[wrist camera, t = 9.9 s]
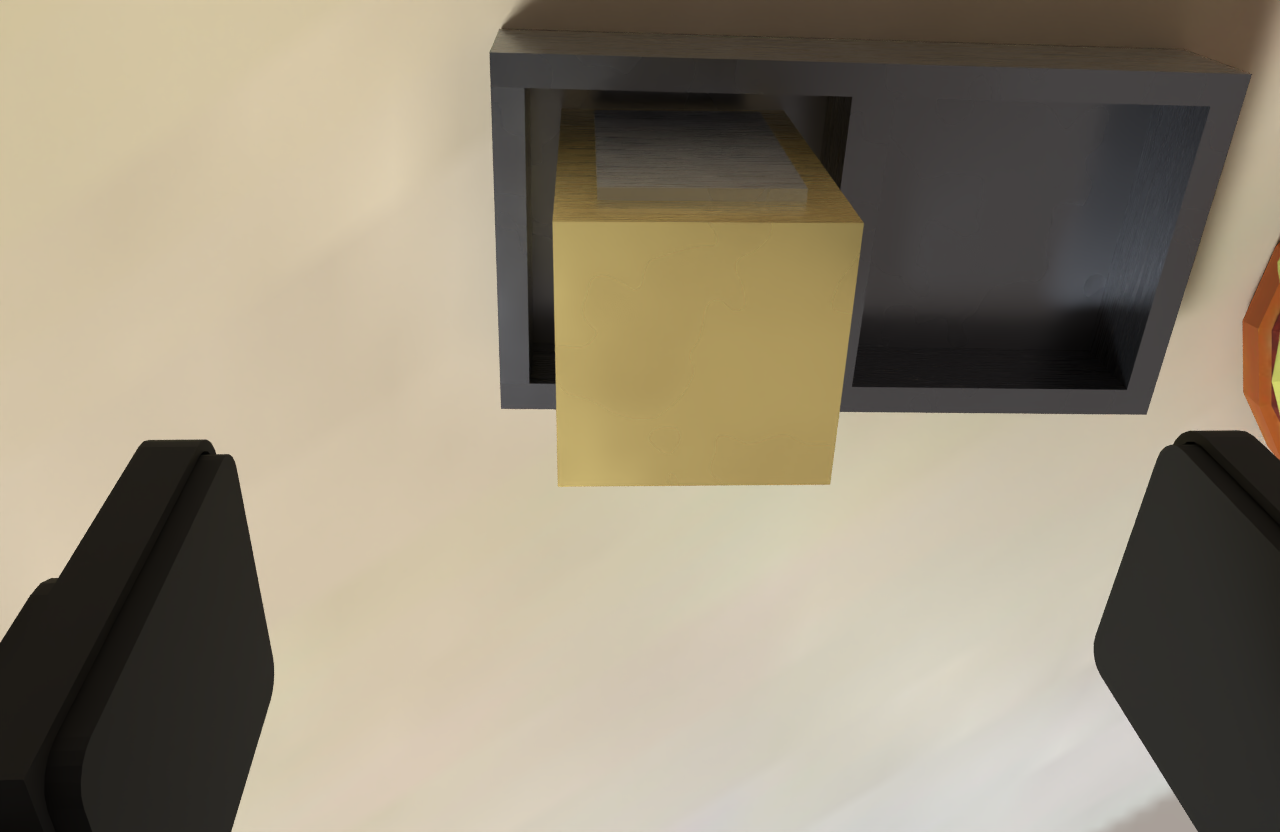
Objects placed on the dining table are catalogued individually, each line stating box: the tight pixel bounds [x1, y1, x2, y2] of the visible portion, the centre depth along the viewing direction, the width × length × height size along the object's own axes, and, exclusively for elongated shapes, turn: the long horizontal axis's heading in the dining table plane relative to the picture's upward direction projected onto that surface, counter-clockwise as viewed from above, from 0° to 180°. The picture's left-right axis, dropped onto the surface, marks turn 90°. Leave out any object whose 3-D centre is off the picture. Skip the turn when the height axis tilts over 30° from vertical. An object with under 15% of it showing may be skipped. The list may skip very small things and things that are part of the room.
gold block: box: [553, 108, 864, 487], centre depth 19 cm, size 5×4×7 cm
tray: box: [490, 29, 1252, 415], centre depth 22 cm, size 7×14×2 cm, turn 88°
